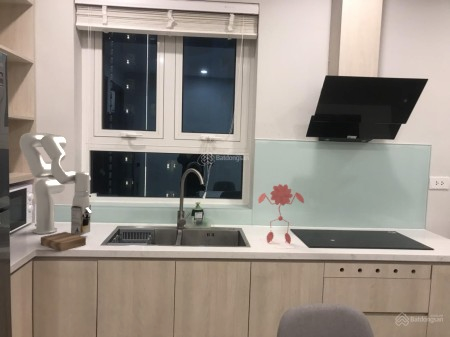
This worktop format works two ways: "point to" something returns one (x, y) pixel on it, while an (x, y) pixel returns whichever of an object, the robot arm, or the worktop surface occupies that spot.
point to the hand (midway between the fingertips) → (80, 224)
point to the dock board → (63, 241)
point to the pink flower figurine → (282, 197)
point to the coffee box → (78, 221)
